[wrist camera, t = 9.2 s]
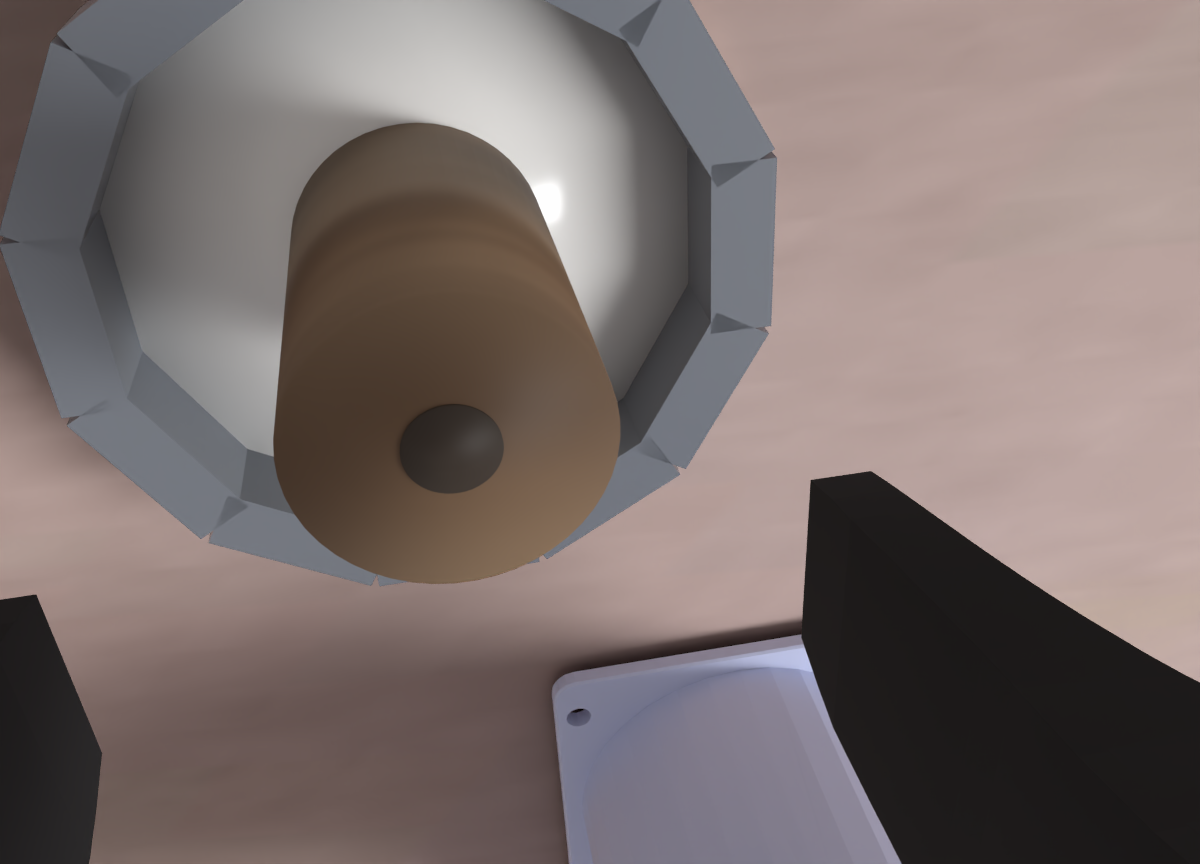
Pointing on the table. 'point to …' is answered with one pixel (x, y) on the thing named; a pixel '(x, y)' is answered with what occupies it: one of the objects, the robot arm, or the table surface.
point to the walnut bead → (435, 364)
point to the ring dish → (294, 152)
